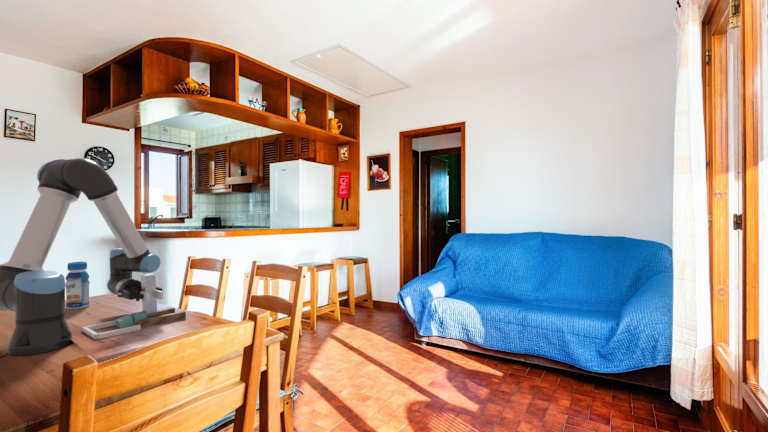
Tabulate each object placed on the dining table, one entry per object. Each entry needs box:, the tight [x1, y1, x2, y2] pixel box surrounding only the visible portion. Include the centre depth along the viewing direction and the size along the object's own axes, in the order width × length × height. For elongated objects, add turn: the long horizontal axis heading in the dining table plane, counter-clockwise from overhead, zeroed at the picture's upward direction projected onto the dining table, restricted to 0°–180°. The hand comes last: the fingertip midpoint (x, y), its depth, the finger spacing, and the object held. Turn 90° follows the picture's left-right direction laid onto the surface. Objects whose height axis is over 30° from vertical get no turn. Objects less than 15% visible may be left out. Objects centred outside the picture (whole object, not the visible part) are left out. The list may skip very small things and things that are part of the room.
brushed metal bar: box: [140, 273, 159, 318], centre depth 140 cm, size 4×6×17 cm, turn 53°
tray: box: [81, 320, 142, 340], centre depth 130 cm, size 13×14×3 cm
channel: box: [137, 306, 187, 329], centre depth 142 cm, size 16×11×4 cm
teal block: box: [129, 310, 147, 326], centre depth 137 cm, size 4×4×4 cm
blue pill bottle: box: [65, 261, 91, 310], centre depth 169 cm, size 8×8×20 cm
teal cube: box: [114, 314, 135, 329], centre depth 134 cm, size 4×4×4 cm
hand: (155, 296), depth 137 cm, fingers closed on brushed metal bar, 4 cm apart
